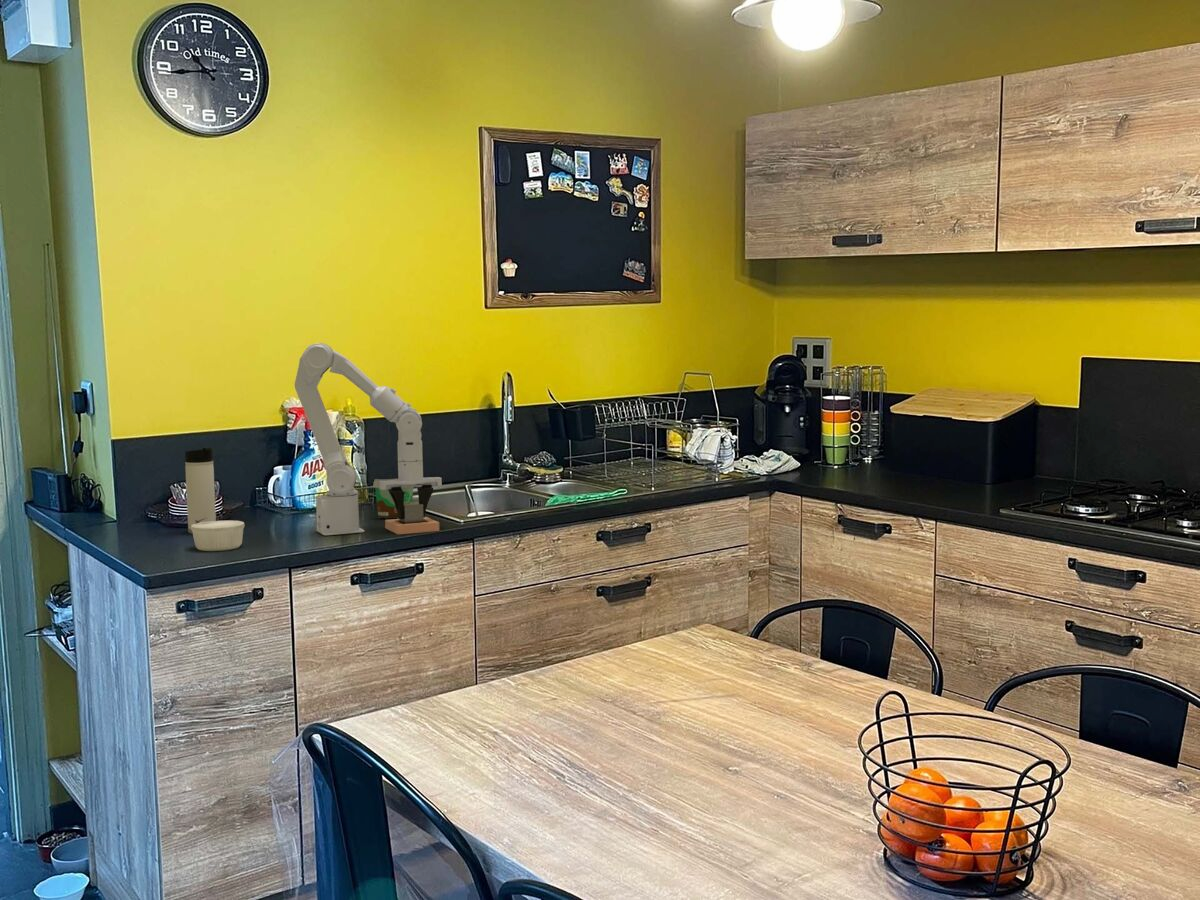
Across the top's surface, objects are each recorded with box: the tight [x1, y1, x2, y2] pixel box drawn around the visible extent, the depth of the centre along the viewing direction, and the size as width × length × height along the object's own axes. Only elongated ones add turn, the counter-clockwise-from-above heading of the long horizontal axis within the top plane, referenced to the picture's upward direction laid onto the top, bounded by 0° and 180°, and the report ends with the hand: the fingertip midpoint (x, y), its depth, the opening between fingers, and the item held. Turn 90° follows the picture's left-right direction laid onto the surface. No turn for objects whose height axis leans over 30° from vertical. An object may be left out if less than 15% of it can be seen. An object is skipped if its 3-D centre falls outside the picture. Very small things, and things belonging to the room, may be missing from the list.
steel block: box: [398, 501, 424, 524], centre depth 279 cm, size 4×4×5 cm
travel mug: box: [184, 447, 217, 535], centre depth 278 cm, size 6×7×20 cm
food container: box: [372, 478, 417, 517], centre depth 299 cm, size 12×6×10 cm, turn 143°
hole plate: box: [384, 516, 440, 535], centre depth 279 cm, size 10×10×2 cm
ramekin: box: [191, 520, 245, 552], centre depth 258 cm, size 11×11×5 cm
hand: (411, 518), depth 279 cm, fingers closed on steel block, 4 cm apart
